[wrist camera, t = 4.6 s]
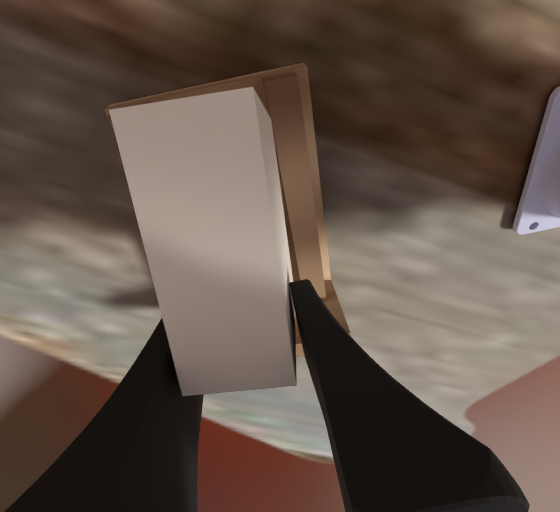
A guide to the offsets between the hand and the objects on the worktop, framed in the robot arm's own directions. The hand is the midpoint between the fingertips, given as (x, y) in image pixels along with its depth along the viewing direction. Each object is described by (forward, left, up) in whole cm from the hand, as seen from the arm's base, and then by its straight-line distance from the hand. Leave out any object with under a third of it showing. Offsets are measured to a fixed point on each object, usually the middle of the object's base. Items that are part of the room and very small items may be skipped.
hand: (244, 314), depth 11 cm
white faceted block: (-1, -2, -4) cm, 4 cm away
